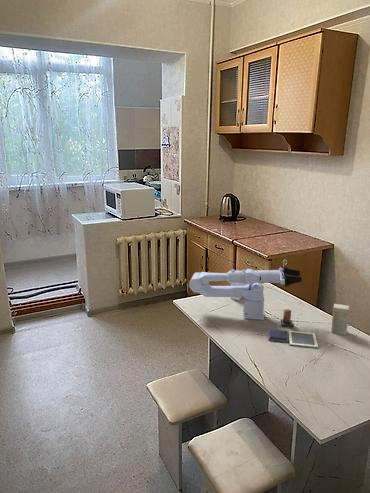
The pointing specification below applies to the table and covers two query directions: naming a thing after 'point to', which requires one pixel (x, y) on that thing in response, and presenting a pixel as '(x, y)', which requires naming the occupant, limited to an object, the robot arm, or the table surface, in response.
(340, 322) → the skincare box
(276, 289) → the table surface
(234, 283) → the ink cartridge box
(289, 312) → the stamp
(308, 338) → the marked square
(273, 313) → the table surface
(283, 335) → the ink pad
